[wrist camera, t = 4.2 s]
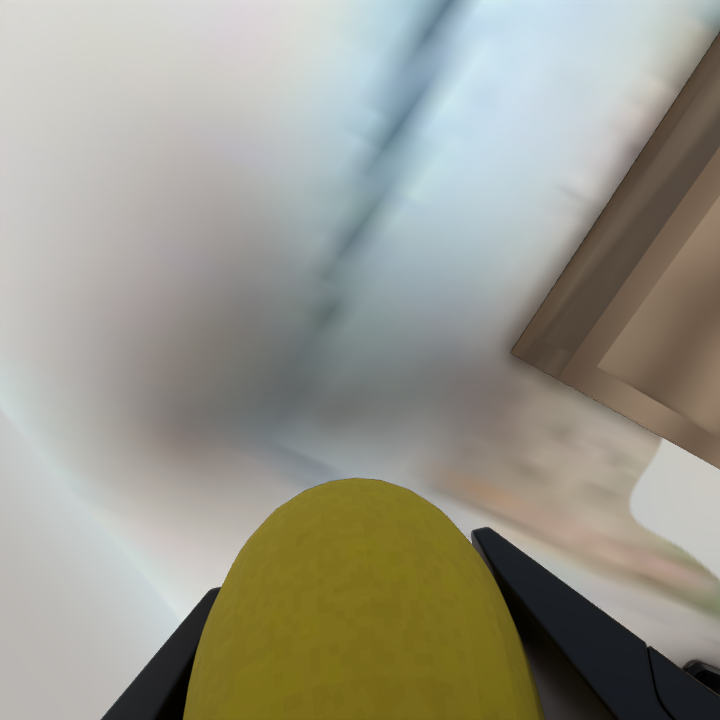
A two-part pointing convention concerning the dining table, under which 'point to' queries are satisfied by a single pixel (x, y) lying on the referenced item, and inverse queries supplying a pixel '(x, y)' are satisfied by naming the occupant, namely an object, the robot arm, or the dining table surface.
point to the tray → (650, 284)
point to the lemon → (360, 619)
